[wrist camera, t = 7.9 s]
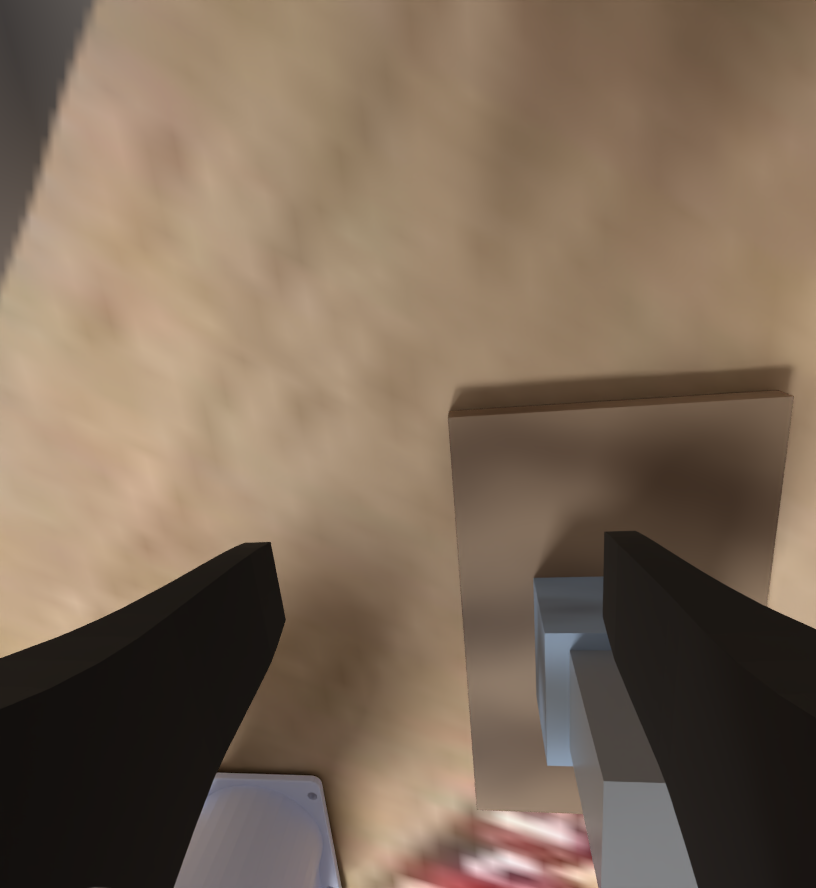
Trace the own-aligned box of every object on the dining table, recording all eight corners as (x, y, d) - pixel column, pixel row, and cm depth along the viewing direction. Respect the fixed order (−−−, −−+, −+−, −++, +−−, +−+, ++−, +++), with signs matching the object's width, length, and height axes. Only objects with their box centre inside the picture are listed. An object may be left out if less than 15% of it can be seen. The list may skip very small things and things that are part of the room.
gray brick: (694, 751, 19) (767, 907, 14) (569, 748, 20) (600, 898, 15) (703, 650, 18) (787, 786, 13) (569, 650, 18) (604, 781, 14)
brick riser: (728, 799, 25) (781, 906, 21) (476, 791, 27) (477, 888, 23) (778, 390, 19) (865, 424, 15) (449, 411, 21) (443, 447, 17)
